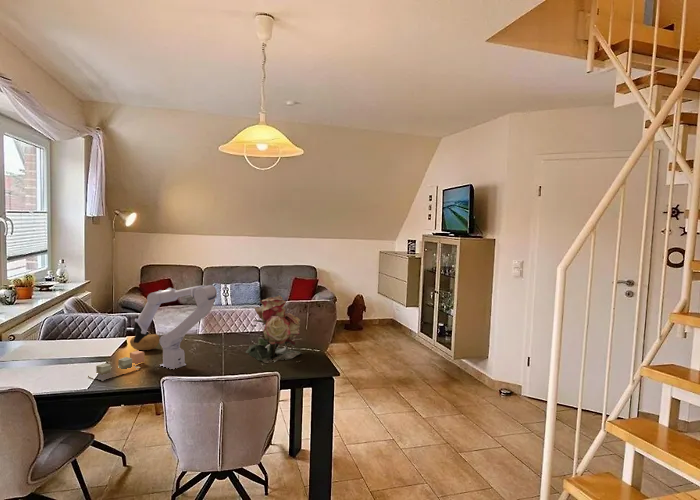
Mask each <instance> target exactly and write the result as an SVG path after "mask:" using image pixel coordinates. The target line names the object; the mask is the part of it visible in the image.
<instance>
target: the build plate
mask: <svg viewBox="0 0 700 500" xmlns="http://www.w3.org/2000/svg"><path fill="white" fill-rule="evenodd" d="M117 364H118V365H117V366H118V368H121V369H127V368H131V367H132V358H130V357H128V356H125V357H122V358H119V359H118V363H117ZM133 366H135V365H133ZM95 367H96V369H95V371H96V373H99V374H101V375H103V374H107V373H111V368H112V365H111V364H110V363H107V362H106V363H104V362H103V363H101V364H100V363H99V364H97V365H95ZM135 368H136V369H137V368H141V367H140V366H139V365H138V366H135Z"/></svg>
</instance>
